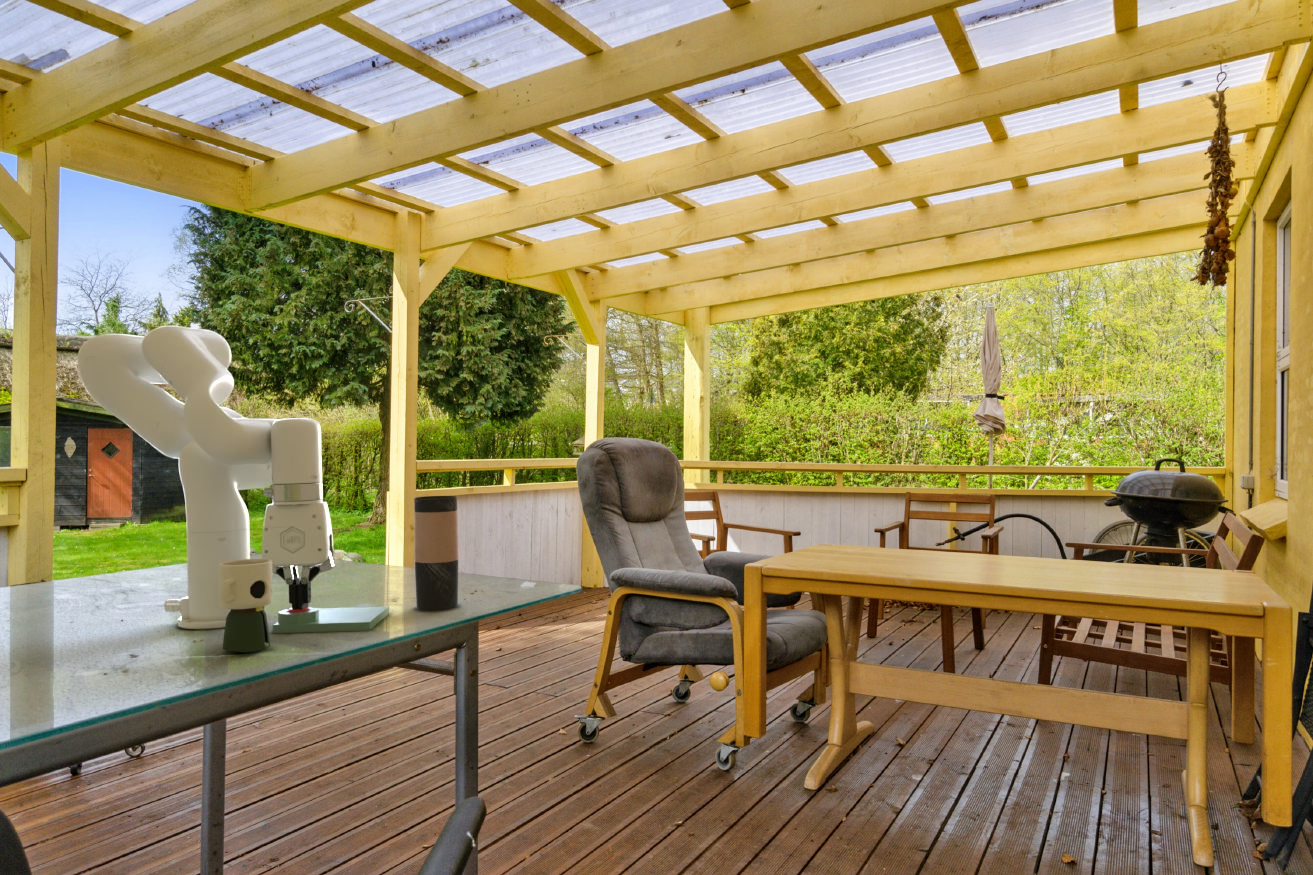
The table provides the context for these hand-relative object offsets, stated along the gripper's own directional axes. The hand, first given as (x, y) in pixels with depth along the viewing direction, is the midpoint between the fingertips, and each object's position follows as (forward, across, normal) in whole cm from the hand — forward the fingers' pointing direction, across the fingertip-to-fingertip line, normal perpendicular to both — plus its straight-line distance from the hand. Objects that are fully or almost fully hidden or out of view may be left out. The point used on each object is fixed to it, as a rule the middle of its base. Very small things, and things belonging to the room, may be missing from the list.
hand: (300, 607), depth 139 cm
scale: (+4, +4, +4) cm, 7 cm away
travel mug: (+4, +19, +15) cm, 24 cm away
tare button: (+2, 0, 0) cm, 2 cm away
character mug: (+4, -3, -14) cm, 15 cm away
